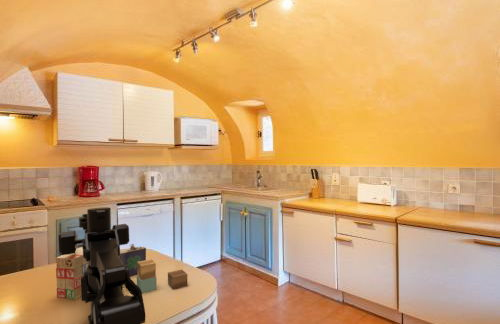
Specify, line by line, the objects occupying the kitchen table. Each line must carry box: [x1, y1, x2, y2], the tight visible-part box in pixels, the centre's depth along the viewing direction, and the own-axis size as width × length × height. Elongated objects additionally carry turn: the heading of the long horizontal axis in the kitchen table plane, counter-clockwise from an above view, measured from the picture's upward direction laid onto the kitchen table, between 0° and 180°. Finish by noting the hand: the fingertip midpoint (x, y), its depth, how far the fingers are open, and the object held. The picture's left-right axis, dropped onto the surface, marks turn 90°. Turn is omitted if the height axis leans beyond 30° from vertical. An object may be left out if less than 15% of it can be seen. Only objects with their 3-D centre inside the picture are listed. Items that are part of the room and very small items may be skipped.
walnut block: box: [167, 268, 188, 290], centre depth 96 cm, size 5×5×4 cm
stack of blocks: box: [55, 247, 119, 301], centre depth 97 cm, size 21×6×12 cm, turn 169°
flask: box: [119, 243, 147, 278], centre depth 104 cm, size 9×3×11 cm, turn 133°
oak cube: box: [137, 258, 157, 280], centre depth 93 cm, size 4×4×4 cm
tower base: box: [136, 275, 158, 294], centre depth 93 cm, size 5×5×4 cm
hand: (92, 233), depth 96 cm, fingers open, 9 cm apart
